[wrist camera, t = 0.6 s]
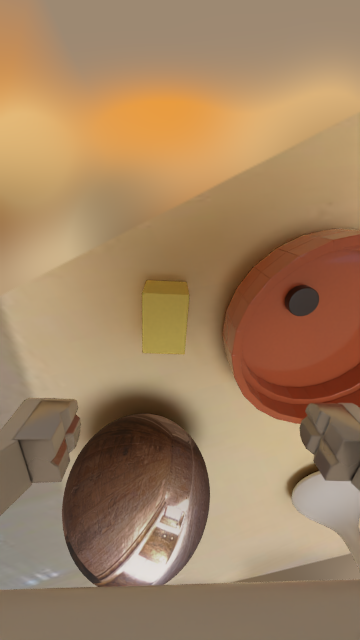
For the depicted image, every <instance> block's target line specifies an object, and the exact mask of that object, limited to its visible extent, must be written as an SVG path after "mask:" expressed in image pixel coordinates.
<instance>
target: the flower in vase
mask: <svg viewBox="0 0 360 640" xmlns="http://www.w3.org/2000/svg"><path fill="white" fill-rule="evenodd" d="M292 503H293V505H294V506H295V508H296V509H297V510H298V511H299V512H300V513H301V514H303V515H304V516H306V517H307V518H309V519H311V520H313V521H315V522H317V523H319V524H322V525H324V526H326V527H328V528H330V529H332V530H334V531H335V532H337V533H338V534H339V535H340V536H341V538H342V539H343V541H344V542H345V543H346V545H347V547H348V549H349V551H350V552H351V554H352V556H353V558H354V560H355V562H356V564H357V567H358V569H359V571H360V532H359V527H358V524H359V518H360V491H359V490H358V489H357V488H356V487H355V486H354V485H353V484H351V481H325V480H324V478H323V476H322V474H321V473H320V471H318V472H315V473H312V474H310V475H308V476H307V477H305V478H303V479H302V480H301V481H300V482H298V483H297V485H296V486H295V487H294V489H293V492H292Z"/></svg>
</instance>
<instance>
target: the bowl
mask: <svg viewBox="0 0 360 640" xmlns="http://www.w3.org/2000/svg"><path fill="white" fill-rule="evenodd" d="M300 285H306V286H309V287H311V288H313V289H314V290H316V291H317V293H318V295H319V303H318V306H317V307H316V309H315V310H314V311H313V312H312V313H310V314H308V315H306V316H295V315H293V314H292V313H291V312H290V311H288V310H287V308H286V306H285V298H286V295H287V294H288V292H289V291H290V290H291V289H293V288H294V287H296V286H300ZM223 341H224V347H225V354H226V357H227V359H228V362H229V365H230V367H231V370H232V373H233V375H234V378H235V380H236V382H237V384H238V386H239V388H240V390H241V392H242V394H243V395H244V397H246V398H247V399H248V400H249V401H250V402H251V403H252V404H253V405H254V406H255V407H256V408H257V409H258V410H260V411H262V412H264V413H266V414H268V415H270V416H272V417H273V418H276V419H279V420H283V421H288V422H292V423H297V424H301V422H302V420H303V419H304V418H306V417H307V414H306V412H305V410H306V408H307V406H308V405H309V404H310V403H353V404H355V405H357V406H358V407H359V408H360V230H351V229H329V230H324V231H319V232H314V233H310V234H305V235H302V236H300V237H298V238H296V239H294V240H292V241H290V242H288V243H286V244H284V245H282V246H280V247H278V248H277V249H275V250H274V251H273V252H271V253H270V254H269V255H268V256H266V257H265V258H264V259H263V260H261V261H260V262H259V263H258V264H257V265H255V266H254V267H253V268H252V269H251V271H250V272H249V273H248V274H247V276H246V277H245V278H244V280H243V281H242V282H241V283H240V285H239V286H238V287H237V289H236V291H235V293H234V295H233V298H232V300H231V302H230V304H229V306H228V309H227V311H226V315H225V322H224V328H223Z"/></svg>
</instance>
